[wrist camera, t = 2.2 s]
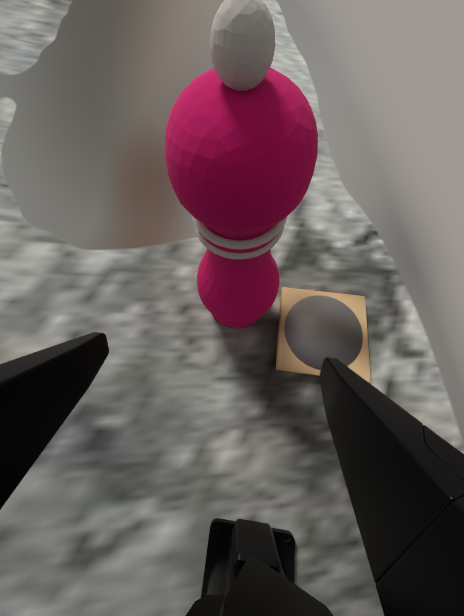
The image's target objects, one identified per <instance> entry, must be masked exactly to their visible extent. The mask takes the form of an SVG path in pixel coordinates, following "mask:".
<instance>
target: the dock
mask: <svg viewBox="0 0 464 616" xmlns="http://www.w3.org/2000/svg"><path fill="white" fill-rule="evenodd" d="M326 357H331V358H337V359H338V360H339V361H341V362H342V363H343V364H345V365H346V366H347V367H349V368H350V369H351V370H353V371H354V372H355V373H357V374H358V375H359V376H360V377H362V378H363V379H364V380H366V381H367V382H371V381H370V366H369V351H368V336H367V321H366V306H365V296H357V295H348V294H339V293H330V292H321V291H312V290H304V289H295V288H286V287H282V289H281V297H280V312H279V327H278V342H277V357H276V370H279V371H286V372H293V373H301V374H308V375H316V376H320V371H321V367H322V364H323V361H324V359H325V358H326Z"/></svg>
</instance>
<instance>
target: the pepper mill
mask: <svg viewBox="0 0 464 616" xmlns="http://www.w3.org/2000/svg"><path fill="white" fill-rule="evenodd" d="M210 49H211V57H212V63H213V65H214V69H211V70H209V71H207V72H206V73H204V74H202V75H200V76H198V77H196V78H195V79H194V80H193V81H192V82H191V83H190V84H189V85H188V86H187V87H186V88H185V89H184V90H183V91H182V92H181V94H180V96H179V97H178V99H177V101H176V102H175V104H174V106H173V108H172V111H171V114H170V117H169V120H168V123H167V126H166V136H165V158H166V164H167V170H168V176H169V179H170V181H171V184H172V186H173V189H174V191H175V193H176V195H177V197H178V199H179V201H180V203H181V204H182V205H183V206H184V208H186V210H187V211H188V212H189V213H190V214H191V215H192V219H193V222H194V226H195V230H196V234H197V236H198V238H199V239H200V241H201V242H202V244H203V245H204V246H205V247H206V248H207V251H206V253H205V255H204V257H203V258H202V260H201V263H200V265H199V269H198V274H197V285H198V291H199V295H200V298H201V300H202V302H203V304H204V305H205V307H206V308H207V309H208V310H209V311H210V312H211V313H212V314H213V316H214V317H215V318H216V319H217V320H218V321H219V322H220V323H222V324H224V325H226V326H228V327H232V328H243V327H247V326H250V325H252V324H254V323H255V322H256V321H258V320H259V319H260V318H261V316H262V315H263V314H264V313H265V312H266V311H267V310H268V309H269V308H270V307H271V306H272V304H273V303H274V301H275V298H276V296H277V292H278V288H279V272H278V268H277V264H276V262H275V260H274V258H273V257H272V255H271V253H270V249H271V248H272V247H273V246H274V245H275V244H276V243H277V242H278V240H279V239H280V237H281V235H282V233H283V229H284V224H285V222H286V219H287V216H288V215H289V214H290V213H291V212H292V211H293V210H294V209H295V208H296V207H297V206H298V205H299V203H300V202H301V200H302V199H303V197H304V195H305V193H306V191H307V189H308V187H309V184H310V181H311V178H312V176H313V172H314V168H315V163H316V159H317V151H318V133H317V126H316V121H315V118H314V115H313V112H312V109H311V107H310V105H309V103H308V101H307V99H306V97H305V96H304V94H303V93H302V91H301V90H300V89H299V87H298V86H296V85H295V84H294V83H293V82H292V81H291V80H290V79H289V78H288V77H286V76H285V75H283V74H281V73H279V72H278V71H276V70H274V69H272V68H270V66H271V63H272V60H273V55H274V50H275V28H274V24H273V20H272V17H271V15H270V12H269V11H268V9H267V7H266V5H265V3H264V2H263V1H262V0H225V1H224V2H223V3H222V5H221V6H220V8H219V10H218V12H217V14H216V16H215V18H214V20H213V25H212V30H211V35H210Z"/></svg>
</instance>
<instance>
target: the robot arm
mask: <svg viewBox="0 0 464 616" xmlns="http://www.w3.org/2000/svg"><path fill="white" fill-rule="evenodd" d="M108 353H109V347H108V343H107V338H106V335H105V334H104V333H98V332H93V333H90V334H87V335H84V336H81V337H78V338H75V339H73V340H70V341H67V342H64V343H61V344H58V345H55V346H52V347H49V348H46V349H43V350H40V351H38V352H35V353H32V354H29V355H26V356H23V357H20V358H17V359H14V360H11V361H8V362H6V363H3V364H0V509H1V508H2V507H3V505H4V504H5V502H6V501H7V500H8V498H9V497H10V495H11V494H12V493H13V491H14V490H15V489H16V487H17V486H18V484H19V483H20V482H21V480H22V479H23V478H24V476H25V475H26V473H27V472H28V471H29V469H30V468H31V467H32V465H33V464H34V462H35V461H36V460H37V458H38V457H39V455H40V454H41V453H42V451H43V450H44V449H45V447H46V446H47V444H48V443H49V442H50V440H51V439H52V438H53V436H54V435H55V433H56V432H57V431H58V429H59V428H60V426H61V425H62V424H63V422H64V421H65V420H66V418H67V417H68V415H69V414H70V413H71V411H72V410H73V409H74V407H75V406H76V404H77V403H78V402H79V400H80V399H81V398H82V396H83V395H84V393H85V392H86V391H87V389H88V388H89V386H90V385H91V383H92V381H93V380H94V378H95V376H96V375H97V373H98V371H99V369H100V368H101V366H102V364H103V363H104V361H105V359H106V357H107V356H108ZM319 378H320V385H321V390H322V396H323V402H324V408H325V413H326V417H327V421H328V424H329V428H330V431H331V435H332V438H333V441H334V445H335V448H336V452H337V455H338V458H339V462H340V465H341V469H342V472H343V475H344V479H345V482H346V486H347V489H348V492H349V496H350V499H351V503H352V506H353V509H354V513H355V516H356V520H357V523H358V526H359V530H360V533H361V537H362V540H363V543H364V547H365V550H366V554H367V557H368V560H369V564H370V567H371V571H372V574H373V577H374V581H375V583H377V584H376V588H377V592H378V595H379V598H380V602H381V605H382V609H383V612H384V616H464V454H463V453H461V452H460V451H459V450H457V449H456V448H455V447H453V446H452V445H450V444H449V443H448V442H446V441H445V440H444V439H442V438H441V437H440V436H438V435H437V434H436V433H434V432H433V431H432V430H430V429H429V428H428V427H426V426H425V425H423V424H422V423H421V422H420V421H418V420H417V419H416V418H415V417H413V416H412V415H411V414H409V413H408V412H407V411H405V410H404V409H403V408H401V407H400V406H399V405H397V404H396V403H395V402H393V401H392V400H391V399H389V398H388V397H387V396H386V395H384V394H383V393H382V392H380V391H379V390H378V389H376V388H375V387H374V386H372V385H371V384H370V383H368V382H367V381H366V380H364V379H363V378H362V377H360V376H359V375H358V374H357V373H355V372H354V371H353V370H351V369H350V368H349V367H347V366H346V365H345V364H343V363H342V362H341V361H339V360H338V359H337V358H331V357H326V358H325V359H324V361H323V364H322V367H321V371H320V376H319ZM215 525H218V526H219V527H220V529H219V530H215V529H214V526H215ZM286 538H290V542H289V543H286V542H285V539H286ZM294 555H295V540H294V537H293V535H292V533H291V532H290V531H287V530H281V529H276V528H271V527H270V525H269V524H266V523H261V522H255V521H249V520H243V519H237V520H236V521H230V520H225V519H219V518H215V519H214V520H213V521H212V522H211V526H210V533H209V540H208V548H207V556H206V563H205V571H204V579H203V586H202V594H201V598H200V599H199V600H197V601H195V602H194V604H193V605H192V607H191V609H190V610H189V612H188V613H187V615H186V616H333V615H332V613H331V612H330V610H329V609H328V608H327V607H326V606H325V605H324V604H322V603H321V602H319V601H318V600H316V599H315V598H314V597H312V596H311V595H309V594H308V593H306V592H305V591H304V590H302V589H301V588H299V587H298V586H296V585H295V584H294Z"/></svg>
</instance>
